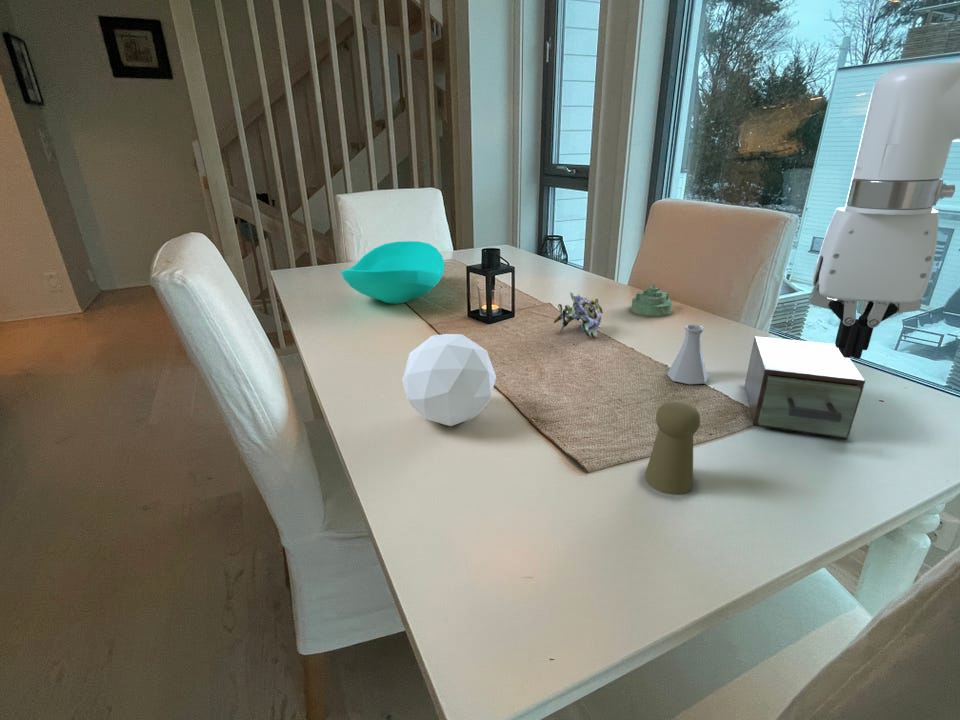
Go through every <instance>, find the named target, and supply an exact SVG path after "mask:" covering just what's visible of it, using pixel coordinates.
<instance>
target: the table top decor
mask: <svg viewBox="0 0 960 720" xmlns="http://www.w3.org/2000/svg"><path fill="white" fill-rule="evenodd" d="M445 267H446V265H445V262H444V258H443V255H442V254H441V252H440V251H439V250H438V248H437V247H435V246H434V245H432V244H430V243H429V242H423V241H418V240H417V241H415V240H407V241H406V240H404V241H403V240H402V241H392V242H388V243H384V244H382V245H379V246H377V247H374V248H373V249H371V250H370V251H368V252H367V253H365V254H364V255H363V256H362V257H361V258H360V259H359V260H358V261H357V262H356V263H355V264H354V265H352V266H351V267H349V268H348V269H343V270H341V272H340V274H341V276H342V278H343V280H344V281H345V282H346V283H347V285H348V286H349V287H350V288H352V289H353V290H355V291H357V292H358V293H359V294H362V295H365V296H367V297H370V298H371V299H374V300H378V301H379V302H383V303H385V304H404V303H407V302H408V301H412V300H415V299H418V298H420V297H422V296H425V295H426V294H428V293H429V292H431V290H433V289H434V288H435V287H436V286H437V285H438V284H439V282H440V281H441V279H442V278H443V275H444V270H445Z"/></svg>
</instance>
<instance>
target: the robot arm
mask: <svg viewBox="0 0 960 720" xmlns="http://www.w3.org/2000/svg"><path fill="white" fill-rule="evenodd" d="M861 133H862V134H861V137H860V142H859V146H858V150H857V155H856V159H855V165H854V168H853V172H852V177H851V181H850V185H849V190H848V194H847V198H846V202H845V206H844V207H843V206H841V207H836V208H835V210H834V212H833V214H832V217H831V219H830V222H829V224H828V227H827V229H826V232H825V235H824V238H823V241H822V243H821V247H820V250H819V253H818V255H817V260H816V263H815V267H814V270H813V275H812V286H813V288H812V290H811V292H810V294H809V296H808V301H809V303H810V305H812V306H815V307H818V308H821V309H825V310H826V309H827V310H830V311H831V312H833V314H834V315H835V316H836V317H837V318H838V319H839V325H838V328H837V332H836V338H835V342H834V344H835V346H836V348H839V351H840V352H841V354H842V356H843V357H844V358H853V359H855V360H860V359H861V358H862V355H863V351H867V350H869V347H870V346H869V345H870V342H871V338H872V335H873V331H874V328H877V327H879V325H880V324H881V323H882V322H883V321H885V320H887V319H888V318H890V317H892V316H893V315H896V314H903V313H904V314H905V313H911V312H918V311H919V310H920V309H921V307H922V298H923V296H924V295H925V293H926V291H927V289H928V286H929V282H930V279H931V275H932V271H933V266H934V260H935V255H936V249H937V244H938V233H939V223H940V221H939V220H940V218H939V217H940V215H939V214H940V212H939V210H937V209H935V208H934V206H936V205H937V203H938V201H939V200H943V199H952V198H953V196H954V195H955V192H956V186H955V184H947V183H944V179H943V174H944V171H945V169H946V168H945V167H946V165H947V161H948V157H949V154H950V150H951V147H952V144H953V143H955V142H956V143H958V142H959V143H960V58H959V59H957V60H955V61H954V62H932V63H921V64H912V65H905V66H900V67H895V68H891V69H889V70H887V71H884V72H883V73H882V74H881V75H880V76H879V77H878V78H877V80H876V81H875V83H874V84H873V88H872V91H871V94H870V99H869V103H868V108H867V112H866V117H865V120H864V124H863V129H862V132H861ZM858 302H865V305H864V307H863V308H862V309H863V310H862V312H861V314H860V315H859V317H858V318H857V305H858Z"/></svg>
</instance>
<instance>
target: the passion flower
mask: <svg viewBox="0 0 960 720" xmlns="http://www.w3.org/2000/svg"><path fill="white" fill-rule="evenodd" d="M569 294H570V298H571V301H572V306H571V307H570V304H565V306H564V309H563V304H561V303H558V305H557V308H558V310H559V312H560V314H559V316H557V317H556V318H555V319H554V321H553V324H556V323H558V321H561V320H562V323H561V326H560V332H562V331H563V330H564V328H565V327H567V326H568V325H569V323H570V322H572V321H573V320H576V321H577V322H579V321H581V325H580V331H582V332H583V333H585V336H587V337H588V338H591V337H592V338H598V333H597V330H598V329H600V328H601V325H600V324H601V323H602V322H601V320H602V314H603V313H604V312H603V307H602V306H601V305H600V303H599V299H598V298H595V299H594V298H591V299H588V298H587V297H583V296H581V295H580V293H577V295H574V293H573V292H570V293H569Z"/></svg>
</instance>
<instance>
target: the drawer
mask: <svg viewBox="0 0 960 720" xmlns="http://www.w3.org/2000/svg"><path fill="white" fill-rule="evenodd" d="M860 391H861V389H860V387H859V386H853V385H849V384H845V383H836V382H828V381H819V380H811V379H809V380H806V379H802V378H796V379H793V377H785V376H776V375H770V376H768V379H767V384H766V388H765V393H764V397H763V402H762V406H761V411H760V415H759V420H758V422H759V425H765V426H772V427H778V428H785V429H792V430H799V431H806V432H813V433H820V434H826V435H833V436H840V437H847V434H848V431H849V428H850V424H851V421H852V418H853V414H854V411H855V408H856V405H857V401H858V398H859V395H860Z"/></svg>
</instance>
